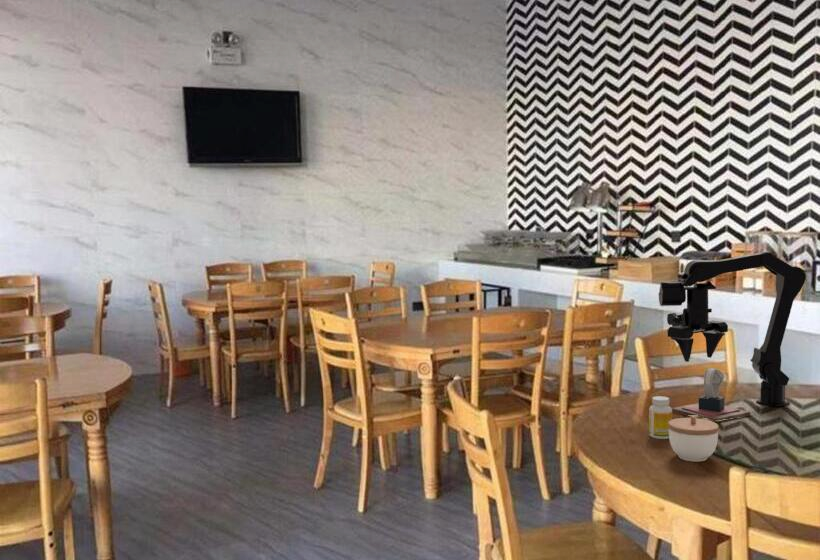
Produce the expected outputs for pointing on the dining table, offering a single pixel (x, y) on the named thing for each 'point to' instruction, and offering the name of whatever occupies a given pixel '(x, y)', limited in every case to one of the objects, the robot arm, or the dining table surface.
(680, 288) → the robot arm
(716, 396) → the watch
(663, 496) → the dining table surface
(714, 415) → the pink square tray
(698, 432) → the lidded jar
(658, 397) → the supplement bottle
